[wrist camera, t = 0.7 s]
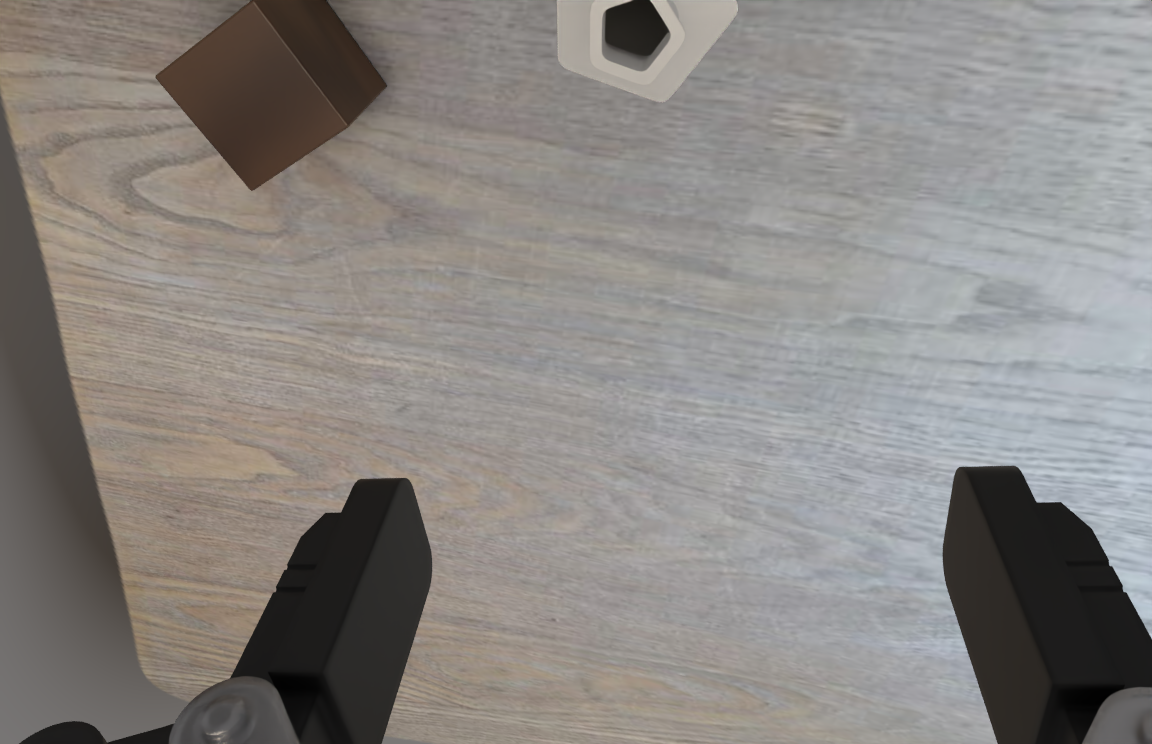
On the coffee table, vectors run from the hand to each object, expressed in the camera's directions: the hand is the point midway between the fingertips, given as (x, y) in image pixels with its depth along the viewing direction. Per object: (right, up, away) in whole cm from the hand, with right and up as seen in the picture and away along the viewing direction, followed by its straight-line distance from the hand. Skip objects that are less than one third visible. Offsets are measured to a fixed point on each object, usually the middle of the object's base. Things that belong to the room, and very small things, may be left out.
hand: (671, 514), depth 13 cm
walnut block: (-12, +15, +22) cm, 29 cm away
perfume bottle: (+1, +18, +18) cm, 26 cm away
